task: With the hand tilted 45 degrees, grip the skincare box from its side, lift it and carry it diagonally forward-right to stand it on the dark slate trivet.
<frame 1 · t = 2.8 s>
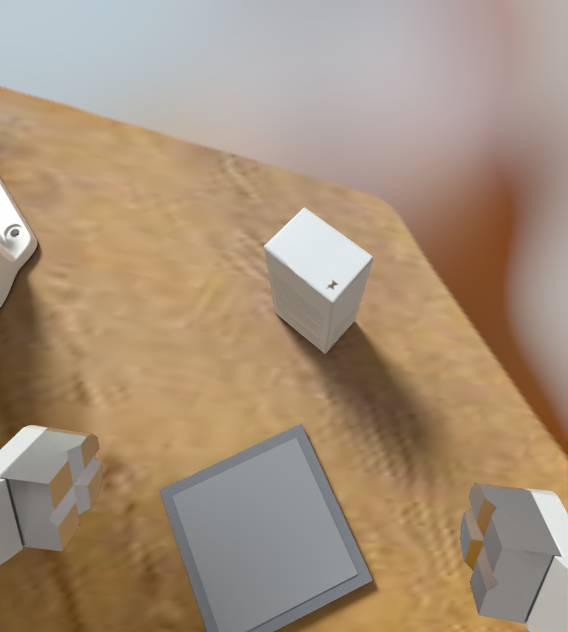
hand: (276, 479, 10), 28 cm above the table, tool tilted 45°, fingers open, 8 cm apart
skincare box: (314, 316, 41), on the table
slate trivet: (263, 532, 35), on the table
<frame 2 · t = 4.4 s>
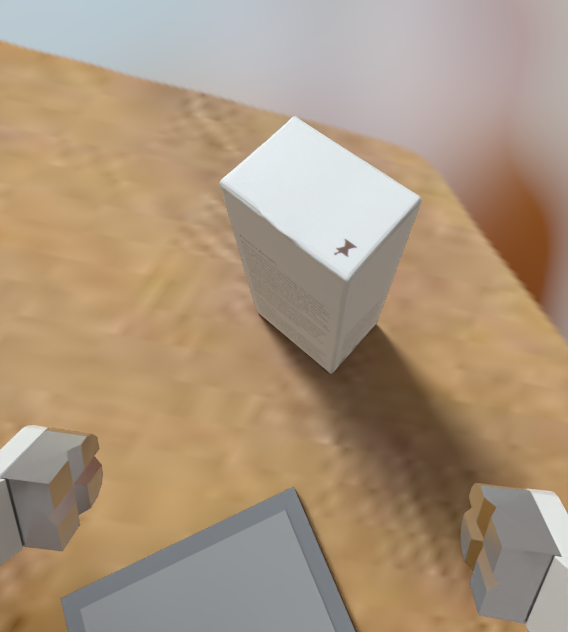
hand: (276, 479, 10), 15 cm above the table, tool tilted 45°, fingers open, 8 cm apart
skincare box: (314, 317, 27), on the table
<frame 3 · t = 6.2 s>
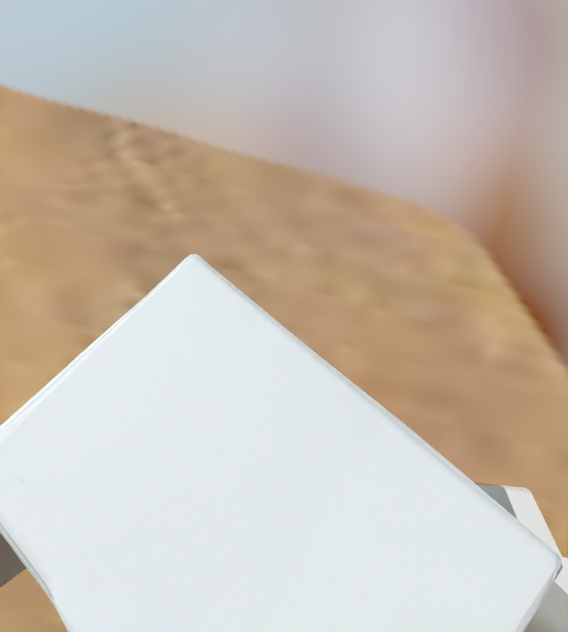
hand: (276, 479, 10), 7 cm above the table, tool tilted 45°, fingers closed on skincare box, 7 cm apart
skincare box: (288, 502, 16), on the table, touching gripper
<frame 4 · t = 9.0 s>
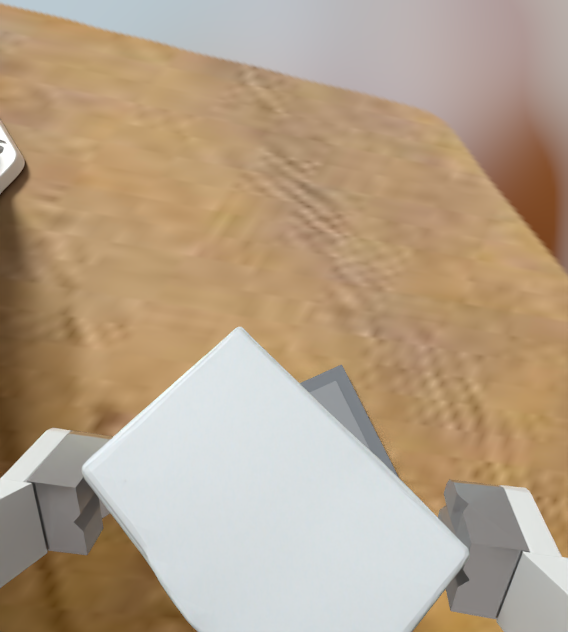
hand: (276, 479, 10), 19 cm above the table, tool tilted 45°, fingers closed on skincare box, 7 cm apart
skincare box: (289, 494, 19), point 9 cm above the table, touching gripper
slate trivet: (294, 497, 27), on the table
when the fingers open (8 cm above the table, at t = 11.7 s): skincare box stays where it is, resting on slate trivet.
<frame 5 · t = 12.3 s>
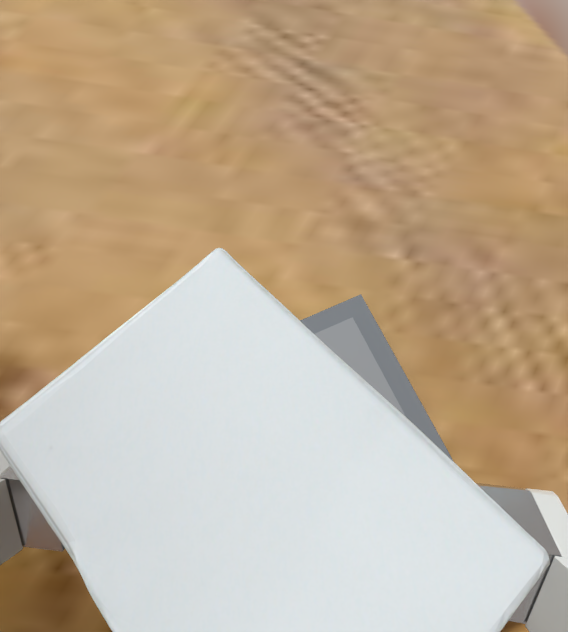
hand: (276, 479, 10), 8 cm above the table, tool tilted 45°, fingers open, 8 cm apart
skincare box: (289, 496, 17), point 1 cm above the table, touching slate trivet
slate trivet: (289, 496, 17), on the table
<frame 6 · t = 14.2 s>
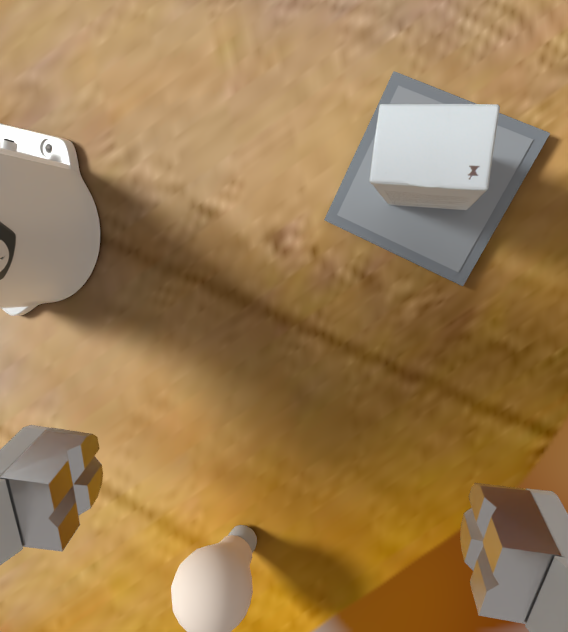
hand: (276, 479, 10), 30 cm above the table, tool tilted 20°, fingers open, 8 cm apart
skincare box: (429, 179, 35), point 1 cm above the table, touching slate trivet
light bulb: (247, 532, 45), on the table
slate trivet: (428, 181, 36), on the table
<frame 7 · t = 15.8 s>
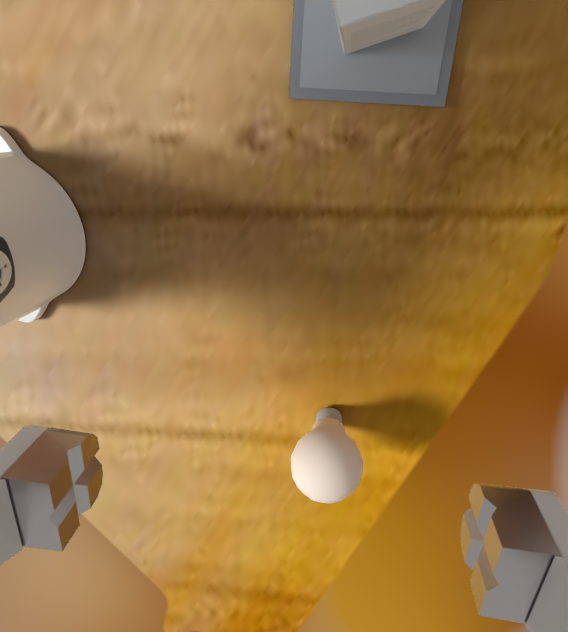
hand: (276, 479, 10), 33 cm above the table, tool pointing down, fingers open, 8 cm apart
skincare box: (376, 10, 33), point 1 cm above the table, touching slate trivet
light bulb: (329, 413, 49), on the table
slate trivet: (375, 13, 34), on the table
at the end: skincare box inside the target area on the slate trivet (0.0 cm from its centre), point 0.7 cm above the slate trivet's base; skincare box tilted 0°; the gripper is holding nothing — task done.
